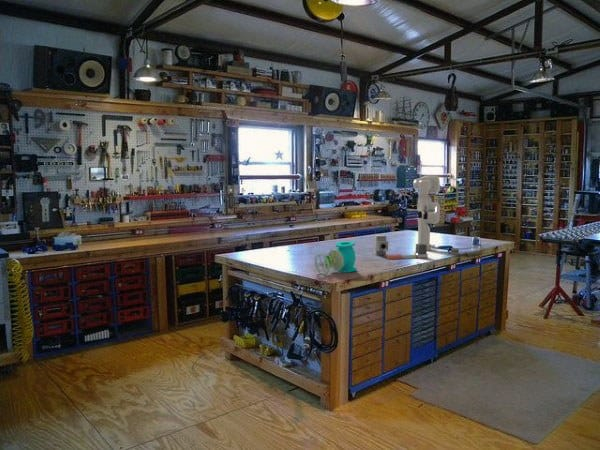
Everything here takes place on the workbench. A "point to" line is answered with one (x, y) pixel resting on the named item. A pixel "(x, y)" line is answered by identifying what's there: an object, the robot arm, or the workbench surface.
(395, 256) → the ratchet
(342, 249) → the valve
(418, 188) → the robot arm
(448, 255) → the workbench surface
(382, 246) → the circuit breaker
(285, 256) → the workbench surface
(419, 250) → the socket
